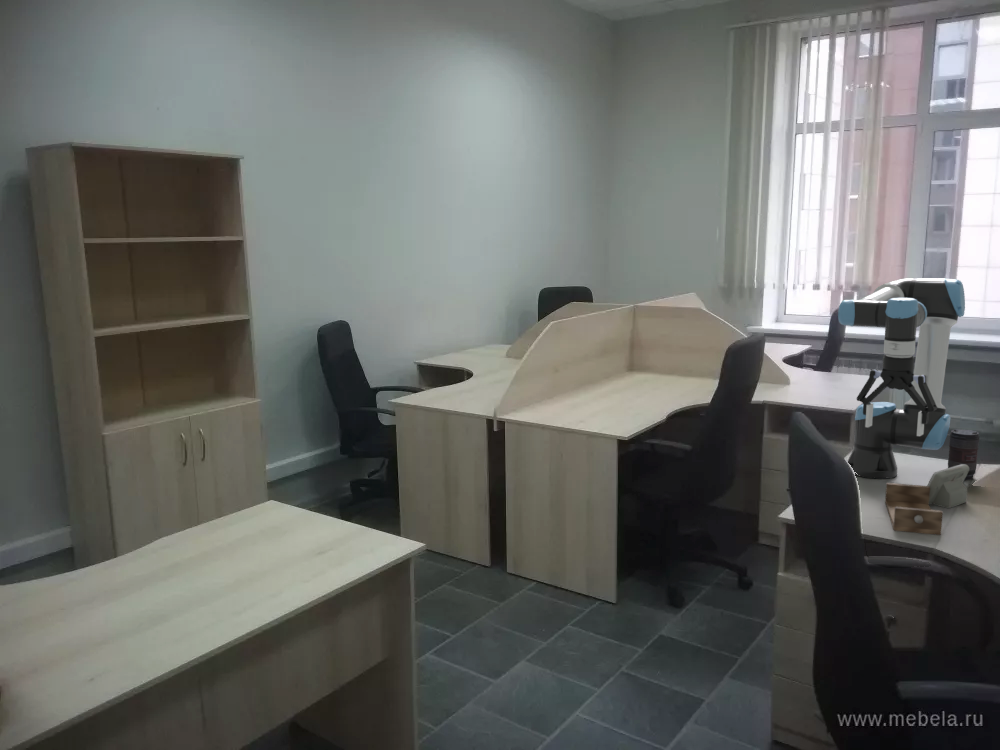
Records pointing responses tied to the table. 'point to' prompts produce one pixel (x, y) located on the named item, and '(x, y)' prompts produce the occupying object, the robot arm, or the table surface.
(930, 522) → the walnut holder
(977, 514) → the table surface
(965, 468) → the digital clock
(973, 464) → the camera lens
